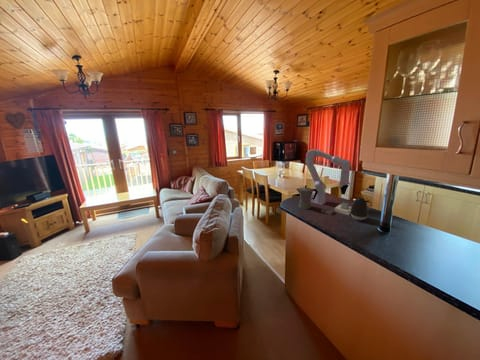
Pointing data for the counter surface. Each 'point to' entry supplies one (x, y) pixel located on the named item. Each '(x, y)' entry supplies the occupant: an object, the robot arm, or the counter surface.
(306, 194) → the coffeepot
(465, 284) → the counter surface
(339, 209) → the port
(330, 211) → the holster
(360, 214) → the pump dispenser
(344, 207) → the plug
